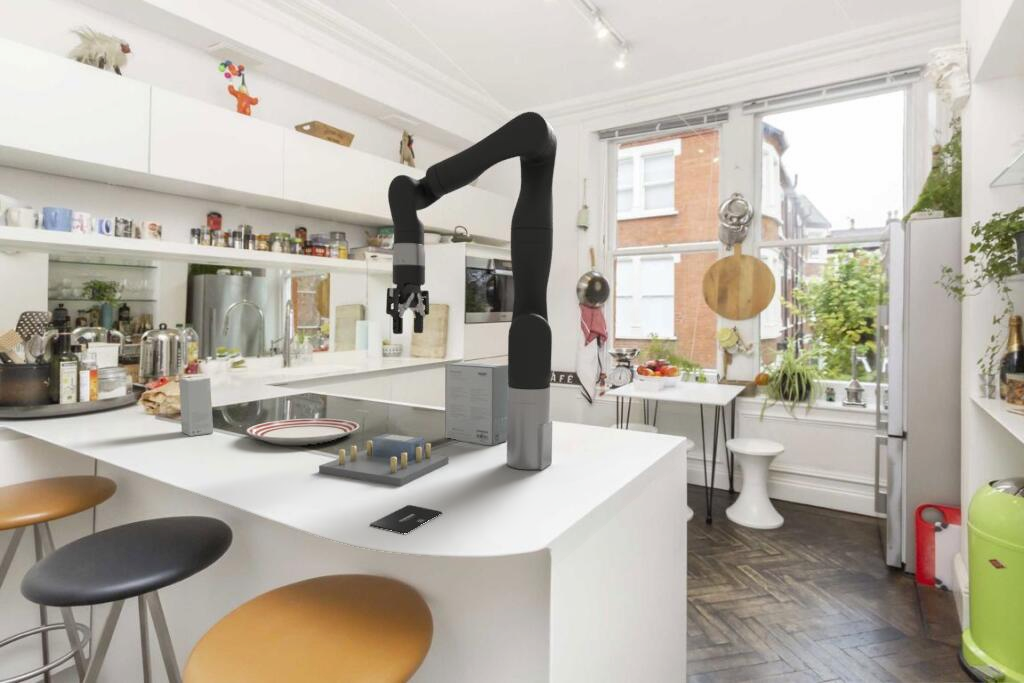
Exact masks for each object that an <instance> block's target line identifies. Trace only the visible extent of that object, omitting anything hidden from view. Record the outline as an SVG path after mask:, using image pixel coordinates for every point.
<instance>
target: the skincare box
mask: <svg viewBox="0 0 1024 683" xmlns="http://www.w3.org/2000/svg"><path fill="white" fill-rule="evenodd" d="M178 380H179V382H178V383H179V404H180V422H181V432H182V434H183V433H184V434H186V435H187V436H189V437H194V436H202V435H212V434H213V433H214V426H213V405H212V404H213V403H212V390H211V388H212V387H211V378H210V377H205V376H193V377H182V378H181V377H180V378H178Z"/></svg>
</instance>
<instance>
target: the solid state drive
mask: <svg viewBox="0 0 1024 683" xmlns="http://www.w3.org/2000/svg"><path fill="white" fill-rule="evenodd" d="M442 513H443V511H441V510H436V509H431V508H426V507H423V506H422V507H421V506H416V505H413V504H412V505H411V504H408V505H405V506H403V507H401V508H399V509H397V510H395V511H393V512H391V513H389V514H387V515H385V516H383V517H381V518H379V519H377V520H375V521H373V522H370V524H369V526H370V527H371V526H374V527H373V528H375V527H378V528H377V529H380V528H383V529H382V530H384V529H388V530H392V531H397V532H400V533H399V534H401V533H403V534H402V535H405V534H404V533H407V534H409V533H411V532H412V531H411V530H413V529H414V530H416V529H418V528H419V527H418V526H420V525H421V524H423V523H425V522H427V521H428V520H430V519H432V518H434V517H436V516H437V517H439V516H440V515H439V514H441V515H442ZM438 515H439V516H438ZM437 517H436V518H437ZM434 519H435V518H434ZM432 520H433V519H432ZM430 521H431V520H430ZM427 523H428V522H427ZM425 524H426V523H425ZM423 525H424V524H423ZM417 527H418V528H417ZM420 527H421V526H420ZM415 528H416V529H415ZM388 530H387V531H388ZM414 530H413V531H414ZM392 531H391V532H392ZM410 531H411V532H410ZM397 532H396V533H397ZM408 532H409V533H408Z"/></svg>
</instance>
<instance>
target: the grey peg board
mask: <svg viewBox="0 0 1024 683" xmlns="http://www.w3.org/2000/svg"><path fill="white" fill-rule="evenodd" d="M357 450H358V449H357V445H350V454H348V455H346V449H343V448H342V449H339V450H338V459H335V460H331V461H328V462H325V463H322V464H319V465H318V472H319V474H324V475H329V476H336V477H341V478H342V477H343V478H349V479H353V480H354V479H356V480H360V481H366V482H367V481H368V482H373V483H378V484H379V483H380V484H385V485H386V484H387V485H391V486H396V487H402V486H405V485H406V484H409V483H411V482H413V481H415V480H417V479H419V478H421V477H423V476H426V475H427V474H429V473H433V471H435V470H439V469H440V468H441V467H444V466H446V465H448V464H449V456H447V455H446V456H445V455H440V454H439V455H438V454H433V453H431V452H432V444H431V442H430V443H427V442H426V443H424V456H423V457H422V447H416V460H414V461H407V453H401V460H397V457H391V459H390V458H383V457H376V456H373V440H367V441H366V449H364V450H363V449H362V450H361V451H357Z"/></svg>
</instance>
